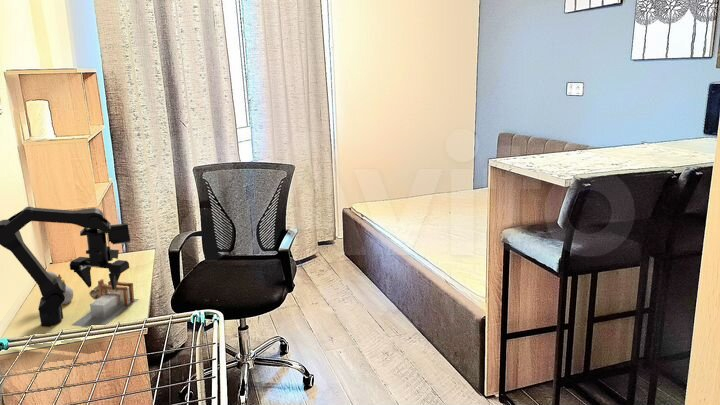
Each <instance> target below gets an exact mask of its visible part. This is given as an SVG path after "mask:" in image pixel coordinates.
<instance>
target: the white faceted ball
mask: <svg viewBox="0 0 720 405" xmlns="http://www.w3.org/2000/svg"><path fill="white" fill-rule="evenodd" d="M47 273H48V274H49V275H50V276H51V277H53V278H57V277H58V276H59V277H60V279H61V281H62V282H63V283H64V284H66V282H65V279H62V278H63V277H62V276H61V274H60V273H58V274H56V273H55V272H54V271H47ZM65 288H66V294H65V300H64V302H63V303H62V304H61V306H64V305H67V304H69V303H70V302H71V301H72V300H73V298H74V290H73V288H71V287H70V286H69V285H67V284H66V287H65Z"/></svg>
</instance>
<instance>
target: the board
mask: <svg viewBox="0 0 720 405" xmlns="http://www.w3.org/2000/svg"><path fill="white" fill-rule="evenodd" d="M138 301H140V299H139V298H134V302H130V300H129V306H125V305H123V306H121V307H120V308H119V309H117V310H116V311H115V312H113V313H112V314H111V315H109V316H108V317H107V318H105V319H102V318H92V317H91V311H89V312H87V313H86V314H85V315H84V316H82V317H81V318H79V319H78V320H76V321H75V322H74V323H72V324H71V326H76V327H86V328H88V327H87V326H91V325H106V324H107V325H108V324H109V323H111V322H112V321H113V320H115V319H116V318H117V317H119V316H120V315H121V314H122V313H124V312H125V311H126V310H128V309H129V308H130V307H132V306H133V305H134V304H135V303H137V302H138ZM107 325H106V326H107Z"/></svg>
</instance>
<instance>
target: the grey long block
mask: <svg viewBox="0 0 720 405" xmlns="http://www.w3.org/2000/svg"><path fill="white" fill-rule="evenodd" d="M127 289H128V300H130V295H129V287H127ZM123 305H124V295H123V290H113V289H111V290H110V291H109V292H107V293H106V294H104V295H103V296H101V297H100V298H96V299H95V300H94V301H93V302H91V303H90V304H89V306H90V312H91V317H92V318H102V319H105V318H107V317H108V316H109V315H111V314H112V313H113V312H115V311H116V310H117V309H119V308H120V307H121V306H123Z"/></svg>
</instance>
